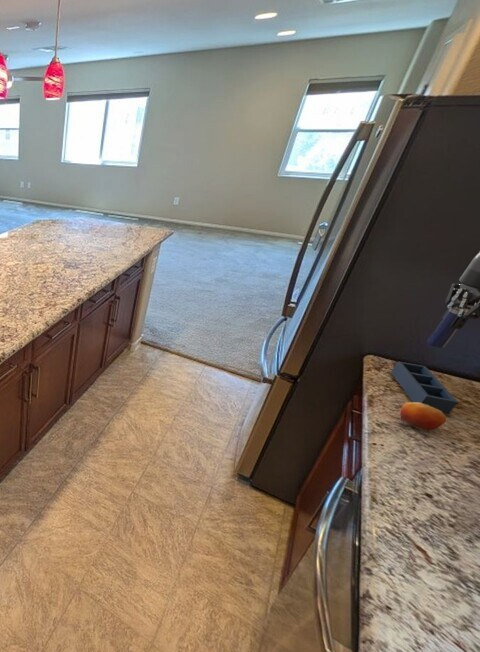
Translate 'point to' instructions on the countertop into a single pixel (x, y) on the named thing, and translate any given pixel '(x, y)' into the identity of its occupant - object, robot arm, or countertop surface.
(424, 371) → the rack
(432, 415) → the fruit
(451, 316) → the thermos
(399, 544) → the countertop surface
